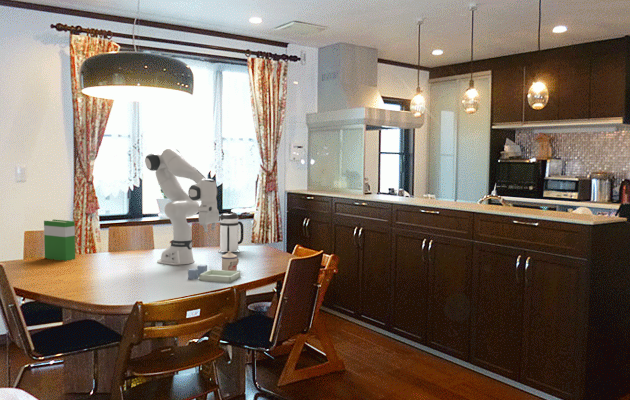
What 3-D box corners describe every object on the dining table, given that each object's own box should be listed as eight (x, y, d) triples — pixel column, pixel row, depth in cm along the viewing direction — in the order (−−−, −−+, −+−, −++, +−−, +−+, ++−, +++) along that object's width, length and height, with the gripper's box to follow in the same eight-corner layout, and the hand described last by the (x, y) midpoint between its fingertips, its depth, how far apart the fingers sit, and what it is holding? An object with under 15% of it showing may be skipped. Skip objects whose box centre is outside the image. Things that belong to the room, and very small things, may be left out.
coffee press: (239, 254, 369) (240, 210, 366) (216, 254, 369) (216, 210, 367) (243, 250, 386) (243, 208, 384) (220, 249, 386) (221, 207, 384)
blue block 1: (188, 279, 297) (188, 269, 297) (191, 277, 301) (191, 268, 300) (194, 279, 296) (194, 270, 296) (198, 277, 300) (198, 268, 299)
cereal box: (44, 258, 345) (43, 220, 343) (54, 256, 352) (53, 219, 349) (65, 261, 338) (65, 222, 336) (75, 259, 345) (74, 221, 343)
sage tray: (199, 280, 294) (199, 274, 294) (210, 274, 308) (210, 269, 308) (230, 282, 290) (230, 277, 290) (240, 277, 303) (240, 271, 303)
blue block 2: (197, 274, 308) (197, 265, 307) (200, 273, 311) (200, 264, 311) (203, 275, 307) (203, 266, 306) (207, 273, 310) (207, 265, 310)
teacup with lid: (229, 273, 311) (229, 253, 310) (218, 271, 316) (218, 251, 315) (243, 270, 321) (244, 250, 320) (232, 268, 326) (232, 248, 325)
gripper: (211, 205, 322) (212, 228, 323) (196, 208, 303) (196, 233, 304) (221, 205, 321) (222, 229, 322) (206, 208, 301) (207, 233, 302)
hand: (209, 231), depth 313 cm, fingers open, 8 cm apart
